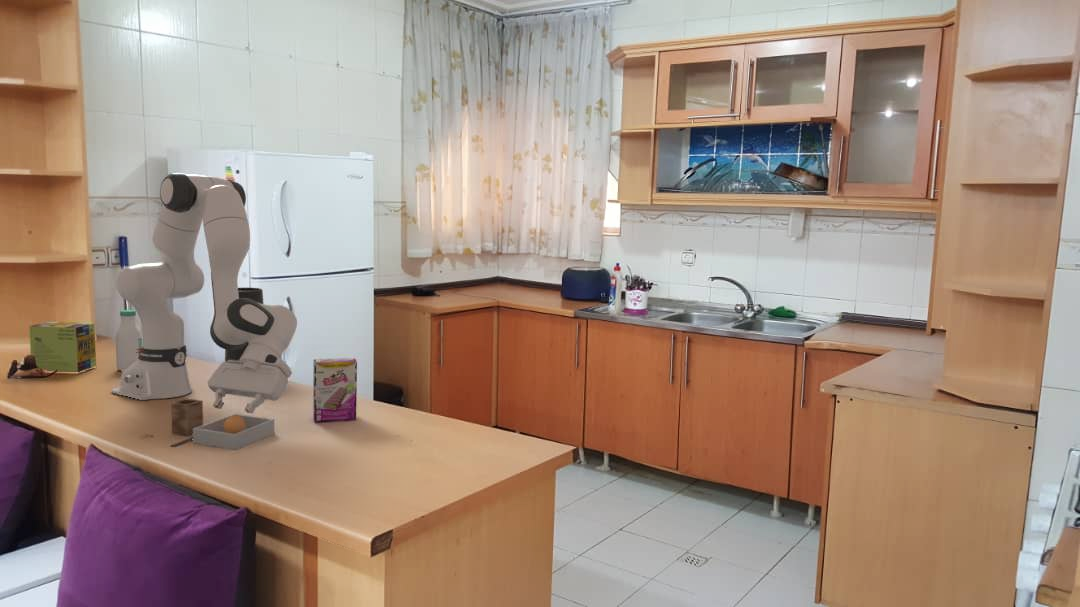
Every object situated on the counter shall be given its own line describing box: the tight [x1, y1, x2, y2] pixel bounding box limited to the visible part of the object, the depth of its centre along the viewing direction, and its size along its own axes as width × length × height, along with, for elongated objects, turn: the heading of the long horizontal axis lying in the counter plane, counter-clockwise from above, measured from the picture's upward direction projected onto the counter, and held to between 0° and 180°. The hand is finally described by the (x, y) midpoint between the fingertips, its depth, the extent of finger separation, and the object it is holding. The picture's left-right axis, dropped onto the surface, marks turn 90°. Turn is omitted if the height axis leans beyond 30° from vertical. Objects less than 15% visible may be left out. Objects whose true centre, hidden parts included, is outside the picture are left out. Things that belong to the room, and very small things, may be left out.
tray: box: [192, 413, 275, 451], centre depth 185 cm, size 12×14×4 cm
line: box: [170, 436, 193, 447], centre depth 188 cm, size 1×22×1 cm, turn 161°
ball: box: [223, 416, 245, 434], centre depth 185 cm, size 5×5×5 cm
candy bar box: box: [312, 357, 358, 423], centre depth 203 cm, size 11×5×16 cm, turn 110°
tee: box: [170, 398, 204, 437], centre depth 188 cm, size 5×5×8 cm
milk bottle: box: [115, 309, 143, 371], centre depth 252 cm, size 8×8×20 cm
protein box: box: [29, 321, 97, 372], centre depth 248 cm, size 10×15×16 cm
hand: (232, 409), depth 184 cm, fingers open, 8 cm apart
